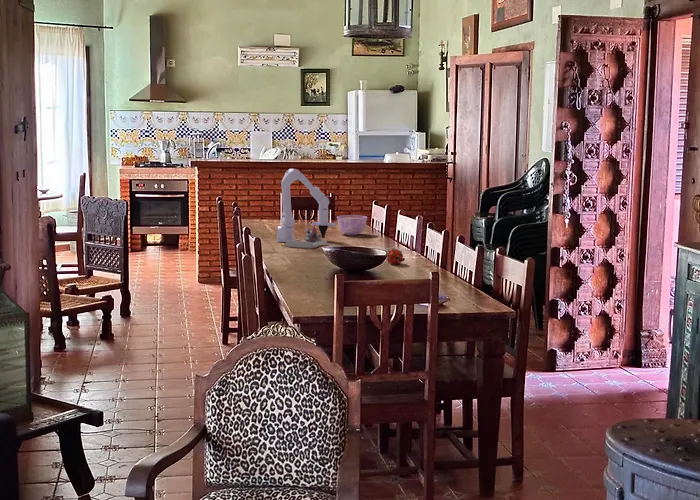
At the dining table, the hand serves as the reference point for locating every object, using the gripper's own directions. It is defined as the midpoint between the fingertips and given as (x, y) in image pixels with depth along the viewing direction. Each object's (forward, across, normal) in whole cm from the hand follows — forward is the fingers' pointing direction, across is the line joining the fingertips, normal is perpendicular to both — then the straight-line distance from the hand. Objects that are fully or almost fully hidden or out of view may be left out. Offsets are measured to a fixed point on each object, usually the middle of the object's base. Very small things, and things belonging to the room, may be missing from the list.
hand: (323, 237), depth 523 cm
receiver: (+2, -5, -25) cm, 26 cm away
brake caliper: (+2, -3, -13) cm, 13 cm away
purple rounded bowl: (+2, +12, +33) cm, 35 cm away
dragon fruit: (+2, +55, -77) cm, 95 cm away
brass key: (+2, -17, -26) cm, 31 cm away
